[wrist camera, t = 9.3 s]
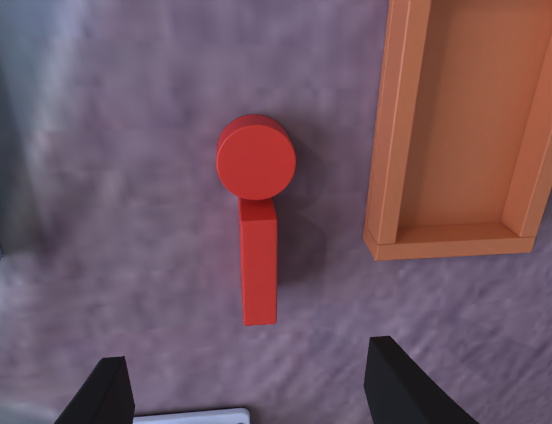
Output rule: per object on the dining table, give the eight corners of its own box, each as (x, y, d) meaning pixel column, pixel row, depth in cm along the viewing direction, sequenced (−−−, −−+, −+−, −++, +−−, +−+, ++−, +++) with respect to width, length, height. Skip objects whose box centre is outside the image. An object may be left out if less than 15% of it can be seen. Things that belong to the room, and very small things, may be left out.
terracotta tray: (506, 232, 21) (531, 252, 19) (362, 239, 20) (375, 261, 18) (585, -50, 15) (629, -57, 14) (394, -55, 15) (417, -62, 13)
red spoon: (287, 287, 21) (295, 323, 18) (224, 290, 20) (224, 328, 18) (291, 113, 17) (302, 131, 15) (214, 114, 17) (213, 133, 14)
